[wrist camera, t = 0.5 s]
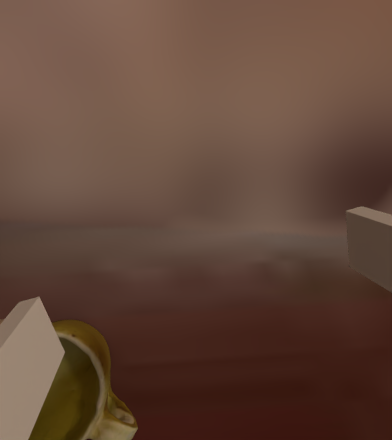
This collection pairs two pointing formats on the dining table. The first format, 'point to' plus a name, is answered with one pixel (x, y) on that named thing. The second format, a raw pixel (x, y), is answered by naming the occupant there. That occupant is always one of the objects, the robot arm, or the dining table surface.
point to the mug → (82, 391)
